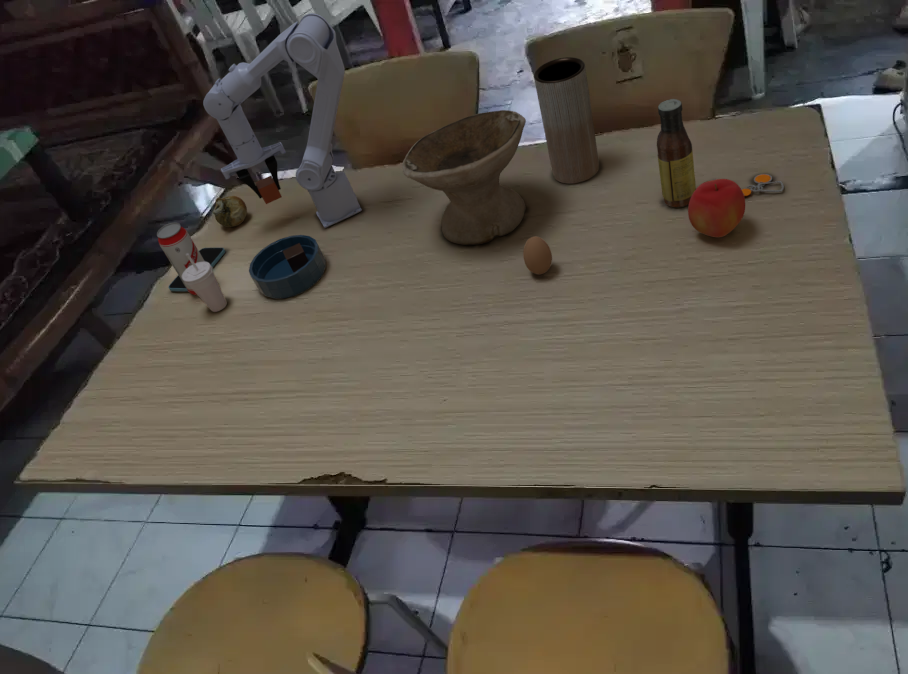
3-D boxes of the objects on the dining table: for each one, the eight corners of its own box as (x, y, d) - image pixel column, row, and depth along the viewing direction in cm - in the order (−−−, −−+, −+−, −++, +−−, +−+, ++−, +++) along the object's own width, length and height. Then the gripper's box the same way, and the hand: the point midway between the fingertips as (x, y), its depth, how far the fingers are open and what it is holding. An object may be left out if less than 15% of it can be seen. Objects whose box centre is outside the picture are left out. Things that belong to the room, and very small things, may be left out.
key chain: (782, 173, 139) (782, 169, 138) (784, 196, 134) (784, 192, 134) (711, 179, 143) (711, 175, 143) (710, 201, 139) (710, 197, 138)
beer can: (222, 279, 164) (188, 221, 152) (207, 298, 160) (172, 240, 149) (200, 278, 166) (165, 220, 155) (184, 296, 162) (148, 238, 151)
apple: (756, 234, 129) (757, 185, 122) (708, 255, 129) (707, 208, 122) (724, 209, 136) (724, 162, 129) (679, 229, 136) (676, 183, 129)
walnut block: (306, 257, 160) (299, 242, 158) (311, 266, 157) (303, 251, 155) (290, 265, 160) (282, 250, 157) (294, 274, 157) (286, 259, 154)
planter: (595, 153, 160) (580, 51, 145) (603, 177, 153) (588, 73, 138) (550, 165, 162) (530, 65, 146) (556, 189, 155) (536, 87, 139)
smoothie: (225, 315, 154) (191, 263, 144) (199, 316, 156) (164, 265, 146) (237, 294, 158) (204, 243, 148) (212, 296, 160) (178, 245, 150)
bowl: (518, 170, 164) (498, 85, 150) (563, 224, 146) (545, 133, 132) (412, 213, 163) (382, 132, 149) (444, 273, 145) (414, 187, 131)
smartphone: (225, 247, 172) (191, 288, 162) (227, 251, 172) (193, 292, 163) (201, 247, 174) (166, 288, 165) (203, 251, 175) (168, 292, 166)
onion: (255, 221, 178) (239, 194, 173) (224, 236, 177) (208, 209, 172) (248, 209, 184) (233, 181, 178) (219, 223, 182) (202, 196, 177)
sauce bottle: (701, 192, 142) (697, 95, 128) (689, 211, 139) (684, 114, 125) (668, 188, 145) (661, 94, 131) (656, 207, 142) (647, 112, 128)
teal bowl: (316, 244, 164) (307, 225, 161) (335, 277, 153) (325, 259, 150) (253, 274, 162) (243, 256, 159) (267, 310, 151) (256, 292, 148)
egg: (535, 284, 135) (527, 250, 130) (522, 271, 139) (514, 238, 133) (560, 272, 136) (552, 238, 130) (546, 259, 140) (538, 225, 134)
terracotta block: (278, 190, 171) (271, 175, 169) (282, 197, 169) (274, 182, 166) (262, 197, 171) (255, 182, 168) (266, 204, 168) (258, 189, 165)
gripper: (269, 119, 163) (294, 172, 172) (208, 146, 161) (238, 197, 171) (275, 130, 158) (301, 184, 167) (213, 158, 156) (243, 211, 166)
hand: (269, 192), depth 169 cm, fingers closed on terracotta block, 4 cm apart
